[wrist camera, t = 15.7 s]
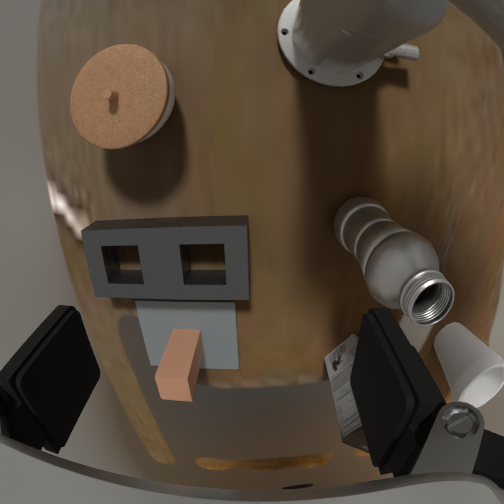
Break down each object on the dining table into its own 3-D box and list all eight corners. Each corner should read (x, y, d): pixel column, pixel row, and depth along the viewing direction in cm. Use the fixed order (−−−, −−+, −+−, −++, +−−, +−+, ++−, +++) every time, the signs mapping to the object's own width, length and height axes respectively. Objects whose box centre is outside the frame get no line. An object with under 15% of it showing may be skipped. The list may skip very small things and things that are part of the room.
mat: (235, 300, 41) (234, 302, 41) (239, 367, 46) (238, 369, 46) (135, 299, 42) (134, 300, 41) (151, 363, 46) (150, 365, 46)
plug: (200, 329, 43) (187, 379, 34) (203, 351, 44) (192, 401, 35) (173, 328, 43) (154, 376, 34) (177, 350, 44) (161, 398, 35)
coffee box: (387, 357, 45) (421, 434, 30) (357, 381, 47) (381, 460, 32) (353, 330, 43) (385, 415, 28) (321, 357, 45) (340, 444, 30)
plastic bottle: (389, 220, 37) (481, 300, 18) (350, 254, 39) (413, 358, 20) (360, 181, 35) (451, 238, 17) (318, 218, 37) (372, 308, 18)
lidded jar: (106, 150, 34) (65, 159, 26) (101, 68, 30) (59, 57, 22) (189, 138, 34) (165, 142, 25) (184, 51, 30) (160, 28, 21)
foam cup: (448, 307, 42) (490, 357, 29) (478, 321, 43) (517, 367, 31) (415, 353, 45) (446, 409, 33) (448, 363, 46) (478, 412, 34)
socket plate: (248, 215, 37) (246, 225, 33) (249, 284, 40) (248, 299, 37) (95, 221, 38) (80, 230, 34) (107, 282, 41) (95, 296, 37)
